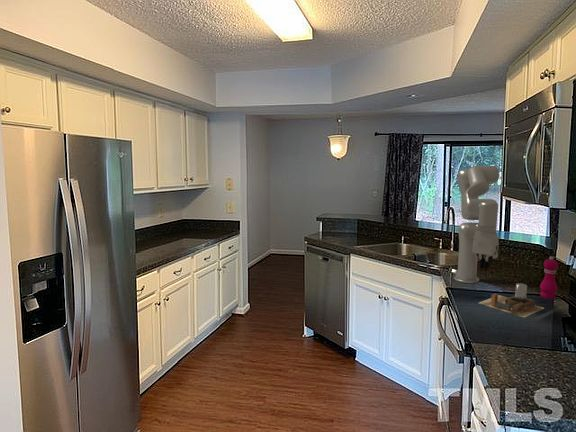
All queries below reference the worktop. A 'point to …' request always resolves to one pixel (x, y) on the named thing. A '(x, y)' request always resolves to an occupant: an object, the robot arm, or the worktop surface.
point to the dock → (502, 299)
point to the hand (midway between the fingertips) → (484, 268)
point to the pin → (499, 303)
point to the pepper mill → (549, 279)
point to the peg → (520, 293)
